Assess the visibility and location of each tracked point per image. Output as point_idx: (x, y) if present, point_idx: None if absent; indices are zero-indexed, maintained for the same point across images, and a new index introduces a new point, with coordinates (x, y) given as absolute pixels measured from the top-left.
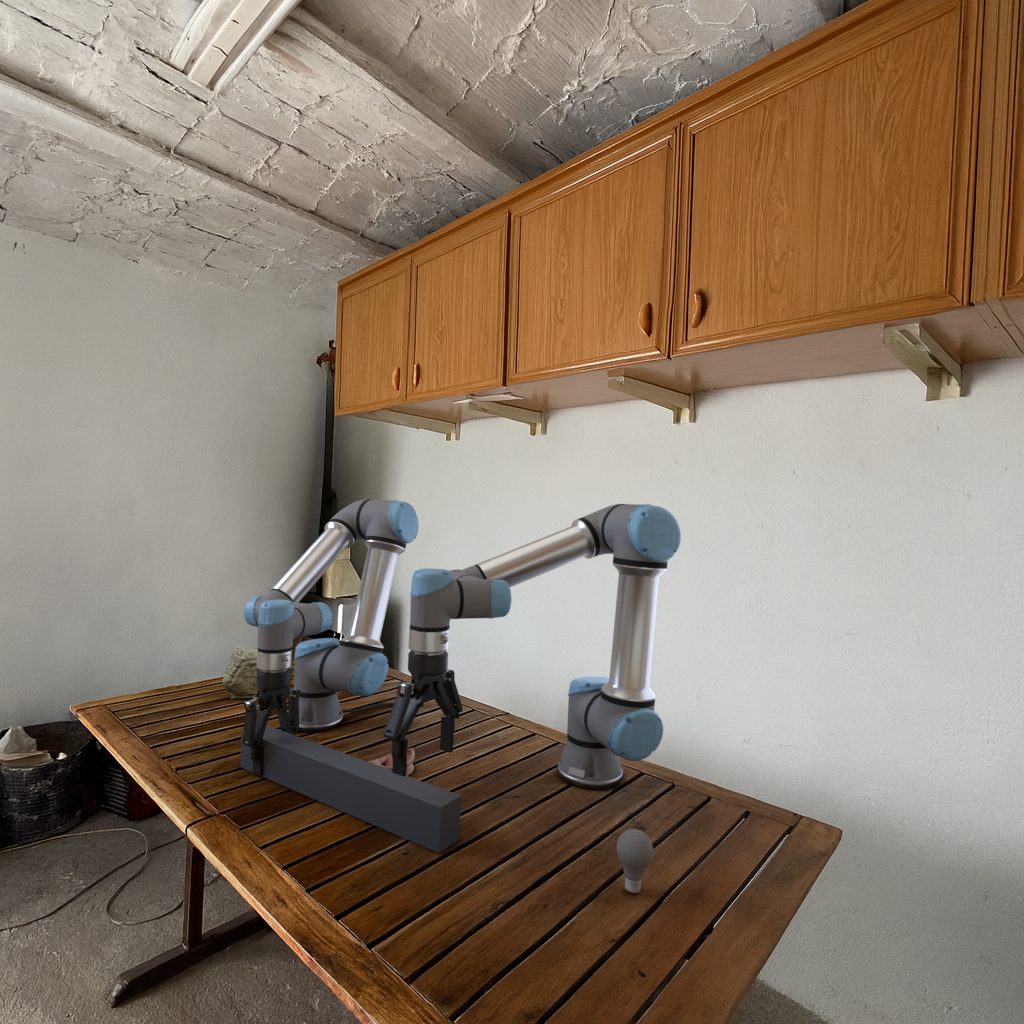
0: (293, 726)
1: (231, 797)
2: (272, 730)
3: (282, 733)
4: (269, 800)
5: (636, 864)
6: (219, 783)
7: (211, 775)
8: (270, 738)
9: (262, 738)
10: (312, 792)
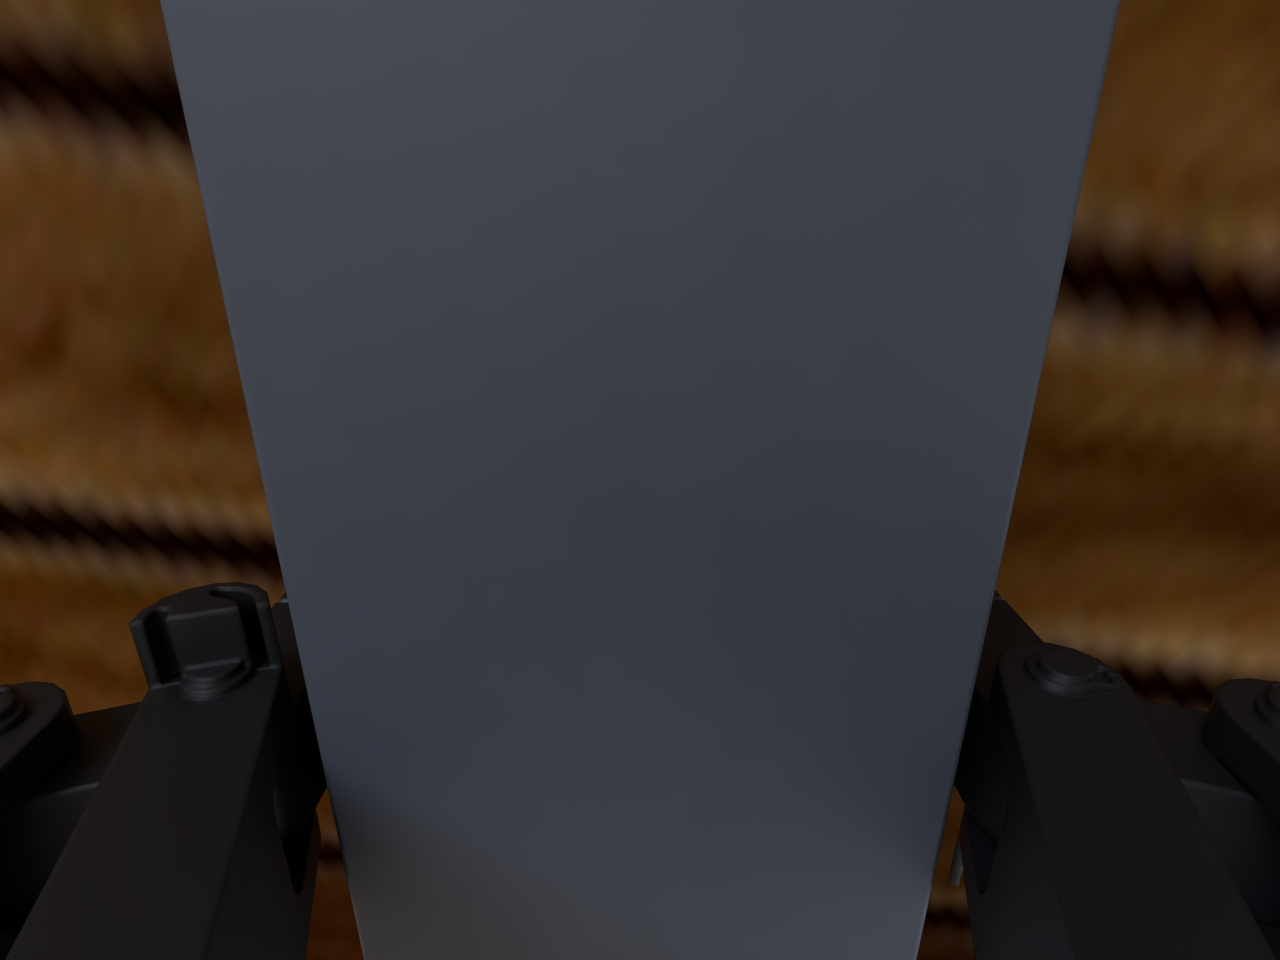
0: (1241, 891)
1: (96, 669)
2: (829, 658)
3: (819, 926)
4: (316, 889)
5: None
6: (97, 339)
7: (85, 45)
8: (483, 953)
9: (302, 949)
10: None
